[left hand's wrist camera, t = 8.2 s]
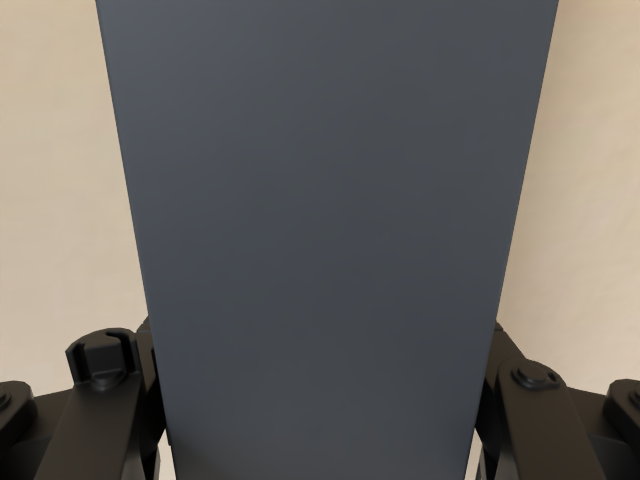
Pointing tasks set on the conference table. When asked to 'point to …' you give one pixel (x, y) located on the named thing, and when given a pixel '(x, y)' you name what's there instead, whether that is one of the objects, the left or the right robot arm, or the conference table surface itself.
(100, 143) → the conference table surface
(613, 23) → the conference table surface
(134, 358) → the left robot arm
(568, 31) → the conference table surface
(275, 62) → the post
